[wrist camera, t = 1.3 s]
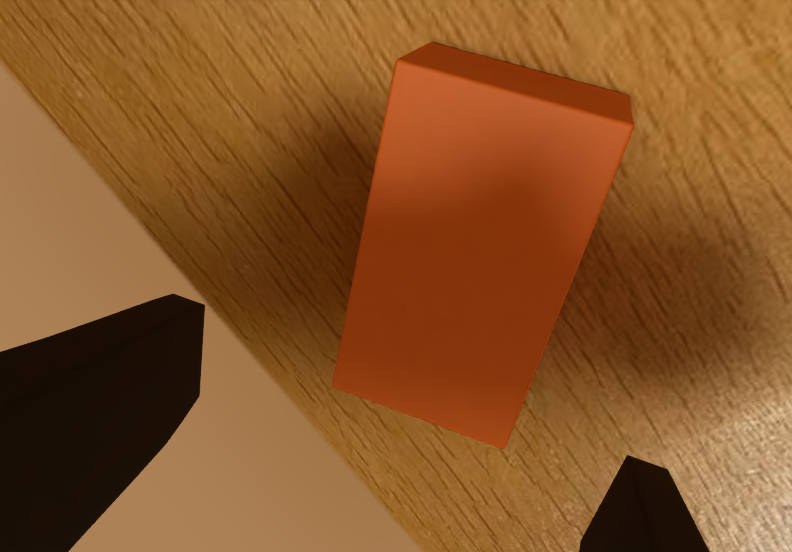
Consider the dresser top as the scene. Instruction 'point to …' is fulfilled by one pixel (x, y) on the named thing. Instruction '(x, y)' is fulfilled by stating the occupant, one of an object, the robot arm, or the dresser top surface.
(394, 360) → the block
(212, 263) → the dresser top surface
